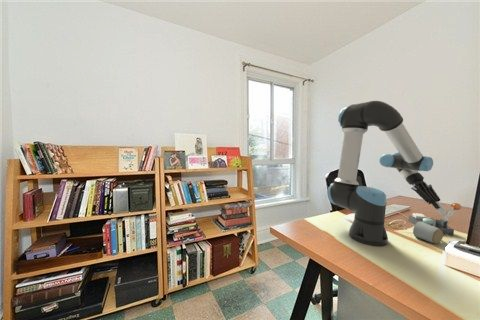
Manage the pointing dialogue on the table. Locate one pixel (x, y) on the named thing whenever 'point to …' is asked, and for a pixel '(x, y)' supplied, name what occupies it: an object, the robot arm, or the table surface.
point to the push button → (428, 221)
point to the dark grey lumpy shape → (435, 224)
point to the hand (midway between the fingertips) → (445, 214)
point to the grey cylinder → (427, 232)
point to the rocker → (418, 216)
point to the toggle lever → (451, 211)
